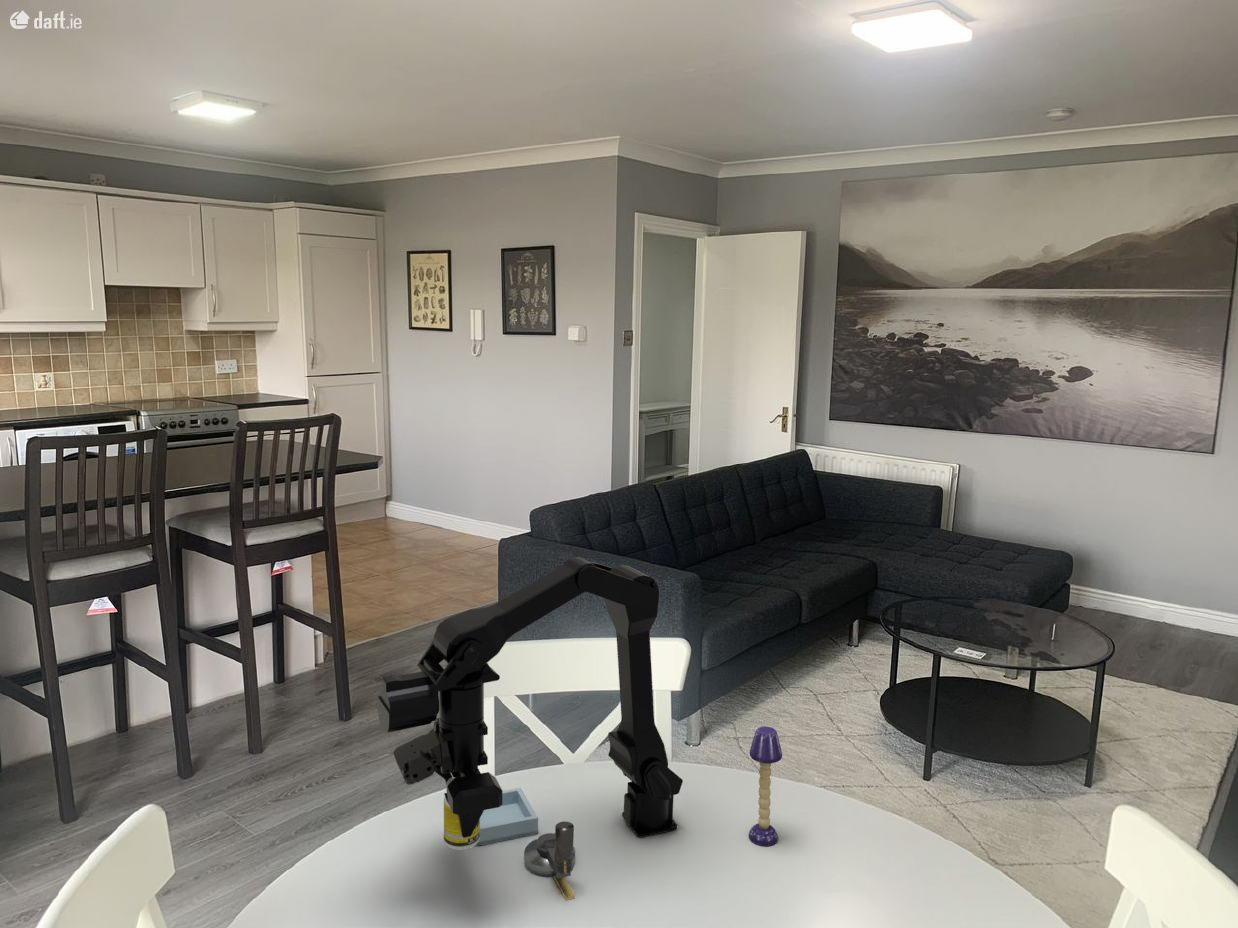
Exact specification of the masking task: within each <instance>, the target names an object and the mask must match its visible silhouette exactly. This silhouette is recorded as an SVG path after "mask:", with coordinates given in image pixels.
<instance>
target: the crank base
mask: <svg viewBox="0 0 1238 928" xmlns="http://www.w3.org/2000/svg"><path fill="white" fill-rule="evenodd" d="M537 839H538V838H536V839H535V840H532V841H531V842H529V843H528V844H527V845H526V846H525V848H524V852H523V854H524V855H523V864H524V868H526V870H527V871H528V872H529V873H531V874H533V875H536V876H538V877H545V878H551V877H552V878H554V881H555V882H556V885H557V887H558V888H559V890H560V891H561V894H562V895H563V897H564V899H565V901H569V900H573V899H576V895H575V893H574V891H573V889H572V888H571V886H570V884H569V882H568V880H567V879H566V877H562V878H557V876H556V874H555V872H554V870H553V868H552V866H551V864H550V862H549V860H548V858H547V856H543V855H541V854H539V853H538V852H537ZM575 863H576V848H575V847H574V845H573V867H574V866H575Z"/></svg>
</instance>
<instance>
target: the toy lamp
mask: <svg viewBox="0 0 1238 928" xmlns="http://www.w3.org/2000/svg"><path fill="white" fill-rule="evenodd" d="M749 757H750V758H751V759H752V760H753V761H755V762H758V763H759V766H760V767H759V769H758V774H759V779H758V784H759V788H758V795H759V797H758V801H757V802H758V806H759V807H758V811H757V812H758V816H759V817H758V823H756V824H754V825H753V826H752V827H751V828H750V830H749V834H748V839H749V840H750V842H752V844H755V845H758V846H760V847H768V846H773V845H775V844H777V843H778V841H779V836H778V833H777V830H776V829H775V827H773V826H772V825H771V818H770V816H771V808H770V807H771V798H770V797H771V794H772V793H771V784H772V781H771V780H772V779H771V776H772V775H771V774H772V769H771V767H772V764H776V763H777V762H779V761H781V760H782V758H783V752H782V747H781V744H780V738H779V735H778V732H777V730H776V729H775V728H774V727H771V726H764V725H763V726H759V727H758V728H757V729H756V730H755V732H754V736H753V738H752V743H751V746H750V749H749Z"/></svg>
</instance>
